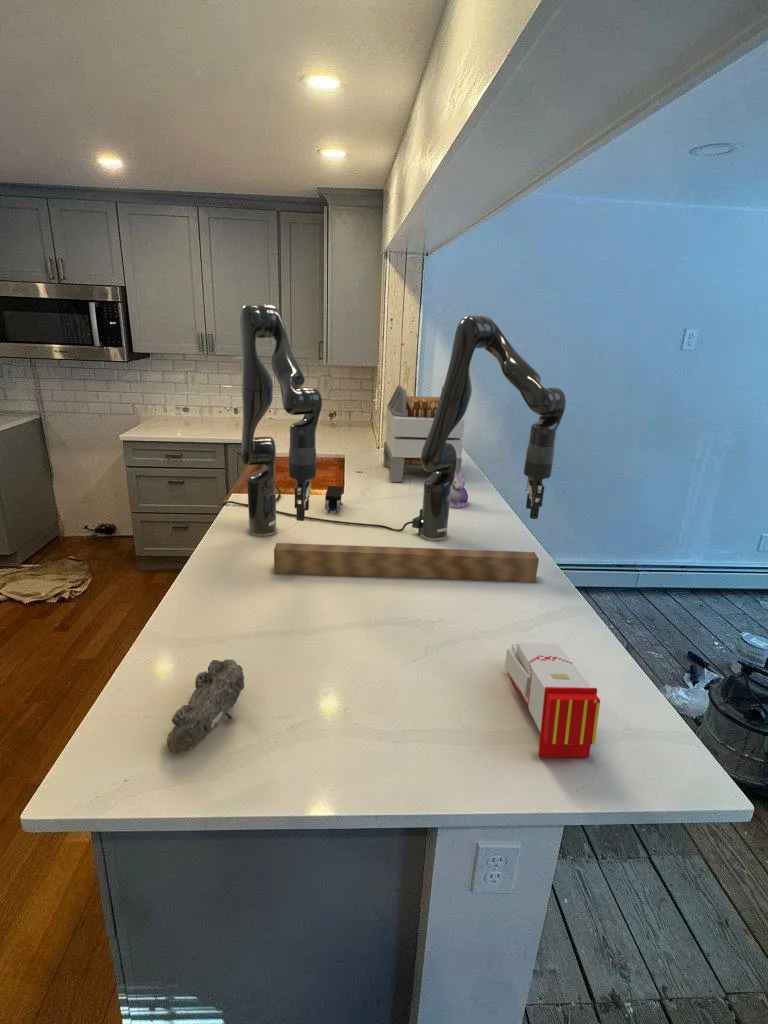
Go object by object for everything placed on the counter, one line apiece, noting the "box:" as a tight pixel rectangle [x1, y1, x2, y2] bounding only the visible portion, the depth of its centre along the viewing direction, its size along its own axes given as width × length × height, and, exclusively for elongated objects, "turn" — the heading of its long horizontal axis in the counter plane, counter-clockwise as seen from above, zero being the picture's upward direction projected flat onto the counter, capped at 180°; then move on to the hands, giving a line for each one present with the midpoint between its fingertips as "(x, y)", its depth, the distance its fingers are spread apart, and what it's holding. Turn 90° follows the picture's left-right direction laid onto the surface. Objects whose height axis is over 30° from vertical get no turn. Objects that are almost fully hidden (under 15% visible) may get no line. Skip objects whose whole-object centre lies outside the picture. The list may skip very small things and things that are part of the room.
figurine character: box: [324, 485, 344, 514], centre depth 220 cm, size 7×8×15 cm
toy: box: [504, 642, 601, 758], centre depth 113 cm, size 12×13×30 cm
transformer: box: [383, 384, 465, 483], centre depth 268 cm, size 34×33×41 cm
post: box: [273, 542, 540, 583], centre depth 169 cm, size 77×5×8 cm, turn 91°
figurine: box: [449, 468, 469, 509], centre depth 230 cm, size 9×10×15 cm
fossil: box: [166, 658, 245, 754], centre depth 106 cm, size 22×10×15 cm
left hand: (302, 515), depth 163 cm, fingers open, 8 cm apart
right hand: (531, 513), depth 166 cm, fingers open, 8 cm apart
